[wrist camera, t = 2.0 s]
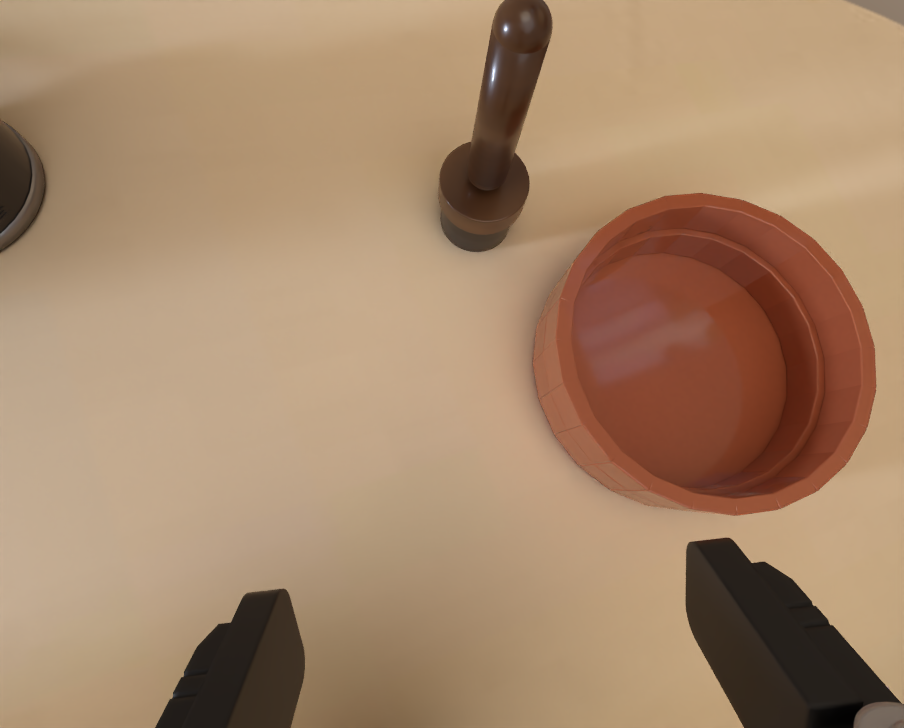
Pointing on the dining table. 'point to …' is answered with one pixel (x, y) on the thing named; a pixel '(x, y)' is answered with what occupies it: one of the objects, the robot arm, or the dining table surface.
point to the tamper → (496, 132)
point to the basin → (706, 358)
